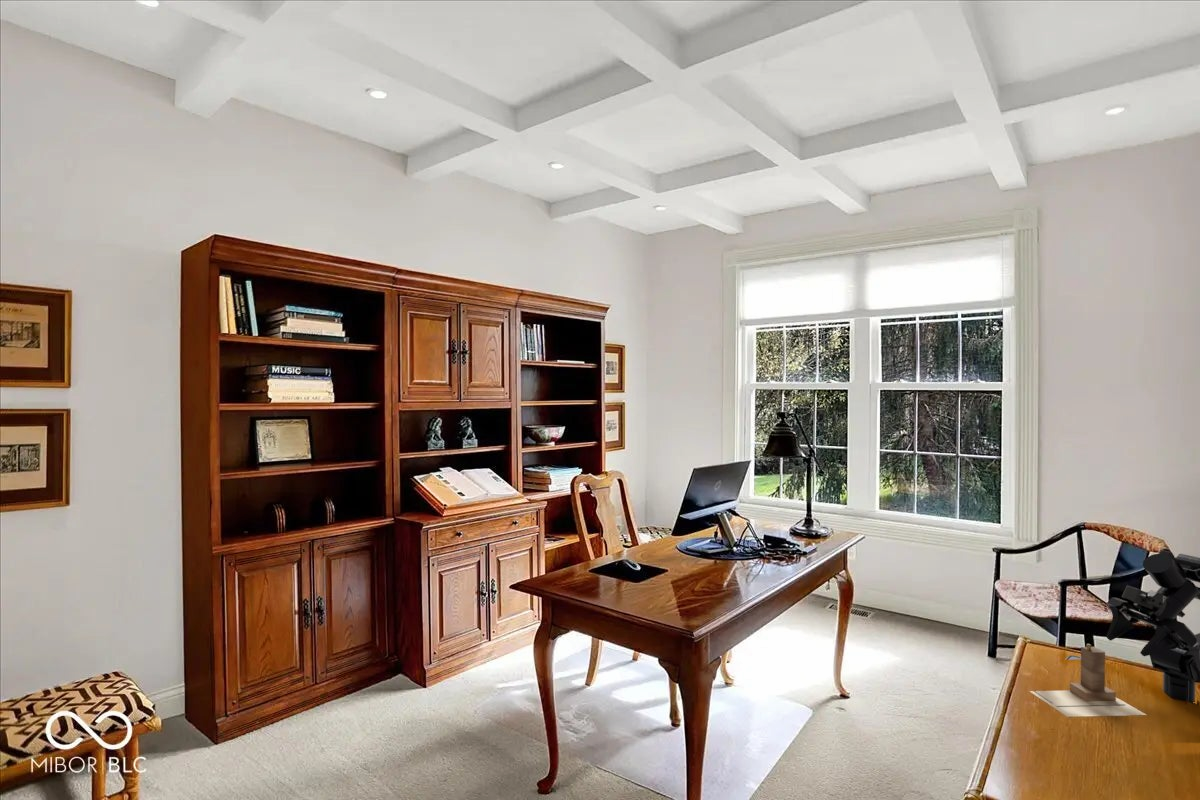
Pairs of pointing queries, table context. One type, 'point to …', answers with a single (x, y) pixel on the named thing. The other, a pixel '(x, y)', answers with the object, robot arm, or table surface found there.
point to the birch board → (1085, 705)
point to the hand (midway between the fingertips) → (1124, 646)
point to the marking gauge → (1092, 677)
